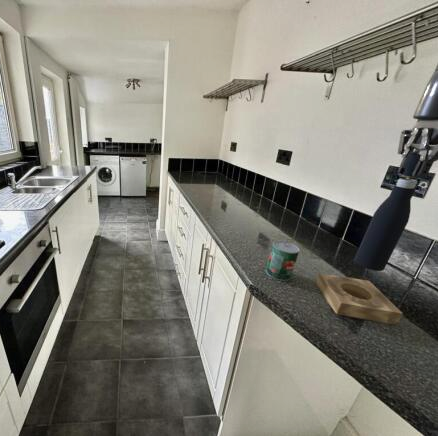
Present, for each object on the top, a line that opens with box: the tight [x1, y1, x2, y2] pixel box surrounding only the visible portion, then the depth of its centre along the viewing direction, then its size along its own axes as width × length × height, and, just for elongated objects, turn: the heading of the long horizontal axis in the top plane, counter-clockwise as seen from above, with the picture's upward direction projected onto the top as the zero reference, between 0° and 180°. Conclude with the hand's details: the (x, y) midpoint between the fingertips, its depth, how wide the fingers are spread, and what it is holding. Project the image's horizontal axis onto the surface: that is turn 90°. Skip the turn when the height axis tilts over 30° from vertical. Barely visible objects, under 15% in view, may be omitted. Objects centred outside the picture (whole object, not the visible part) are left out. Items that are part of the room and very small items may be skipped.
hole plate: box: [315, 273, 404, 326], centre depth 68 cm, size 14×14×4 cm
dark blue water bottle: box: [353, 153, 421, 272], centre depth 59 cm, size 6×6×30 cm
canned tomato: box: [265, 240, 301, 282], centre depth 79 cm, size 8×8×11 cm
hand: (410, 175), depth 55 cm, fingers closed on dark blue water bottle, 4 cm apart
